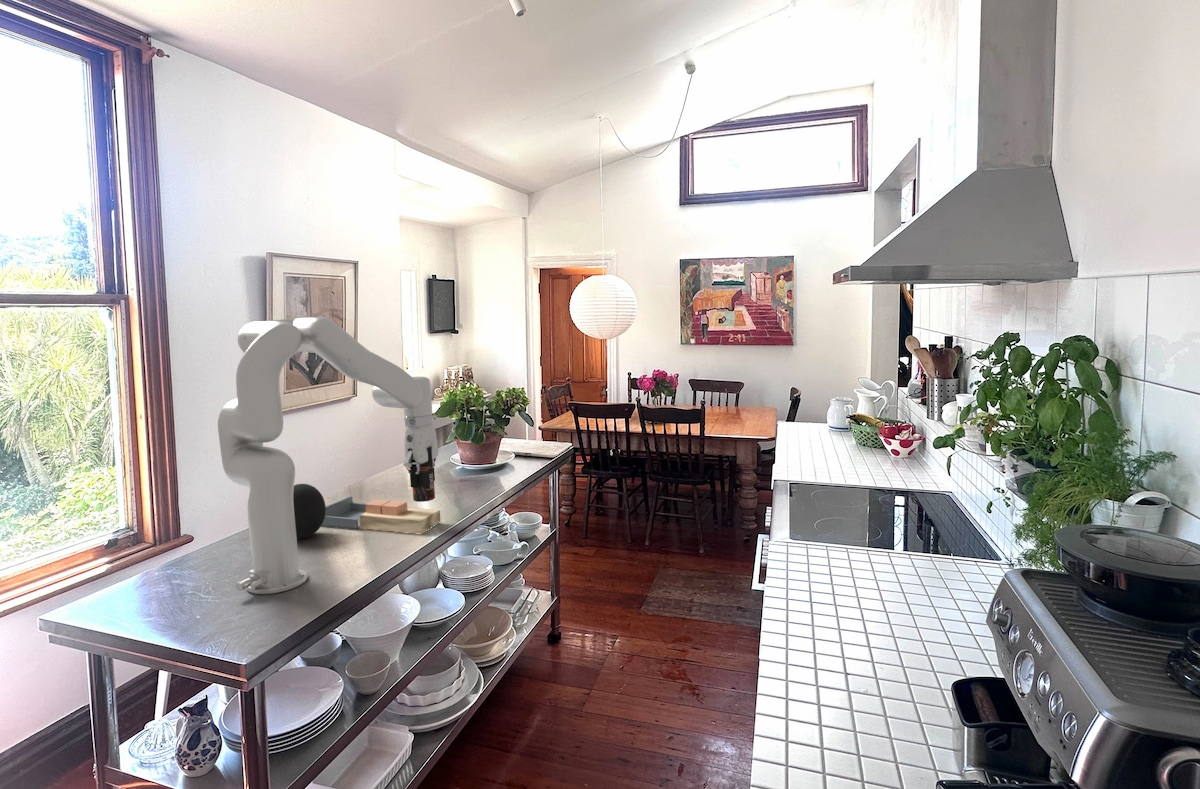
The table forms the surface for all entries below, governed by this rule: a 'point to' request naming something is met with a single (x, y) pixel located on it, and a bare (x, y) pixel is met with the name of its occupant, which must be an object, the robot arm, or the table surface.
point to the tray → (344, 514)
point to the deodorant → (425, 480)
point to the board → (402, 520)
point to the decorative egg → (308, 510)
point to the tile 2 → (394, 508)
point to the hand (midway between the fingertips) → (423, 483)
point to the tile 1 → (375, 506)
